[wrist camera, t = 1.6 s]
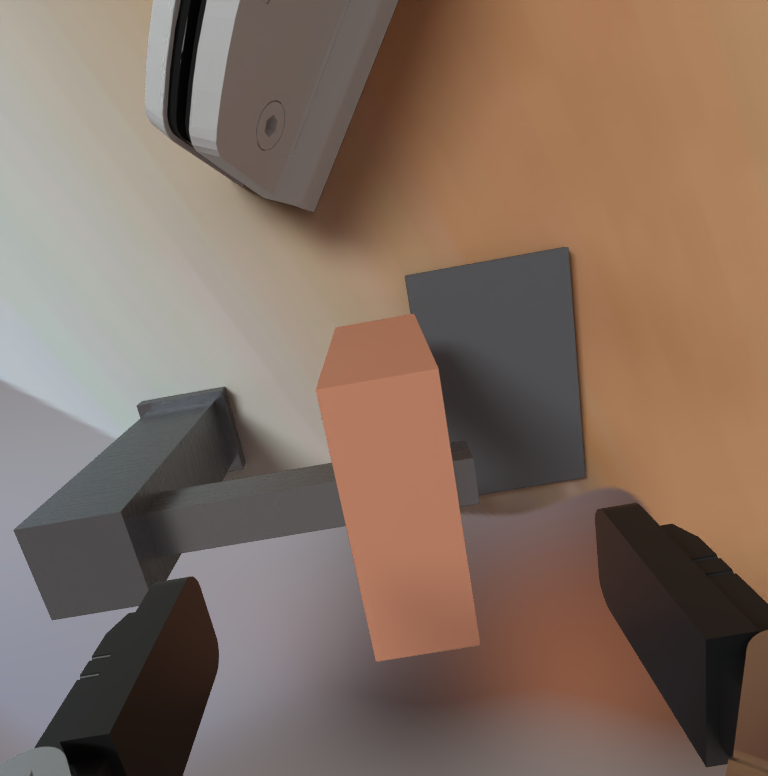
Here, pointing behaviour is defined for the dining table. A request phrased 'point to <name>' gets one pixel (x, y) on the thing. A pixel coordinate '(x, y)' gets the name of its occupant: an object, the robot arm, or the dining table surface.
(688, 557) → the robot arm
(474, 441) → the mat
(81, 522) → the bracket
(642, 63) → the dining table surface
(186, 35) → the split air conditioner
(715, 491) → the dining table surface
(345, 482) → the pink block
